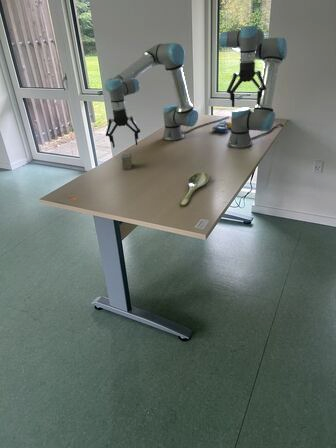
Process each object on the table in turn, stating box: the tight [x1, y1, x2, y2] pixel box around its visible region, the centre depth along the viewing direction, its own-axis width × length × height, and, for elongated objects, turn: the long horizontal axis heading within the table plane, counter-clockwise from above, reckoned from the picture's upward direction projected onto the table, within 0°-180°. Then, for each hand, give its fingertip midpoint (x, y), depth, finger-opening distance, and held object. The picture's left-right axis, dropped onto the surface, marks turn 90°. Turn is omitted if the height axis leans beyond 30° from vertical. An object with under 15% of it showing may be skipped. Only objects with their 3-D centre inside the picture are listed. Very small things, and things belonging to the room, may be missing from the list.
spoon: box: [180, 171, 210, 207], centre depth 170 cm, size 35×11×2 cm, turn 159°
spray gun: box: [211, 120, 231, 133], centre depth 256 cm, size 21×4×15 cm
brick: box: [121, 152, 133, 171], centre depth 203 cm, size 7×5×8 cm
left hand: (125, 145), depth 198 cm, fingers open, 13 cm apart
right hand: (245, 105), depth 179 cm, fingers open, 13 cm apart
